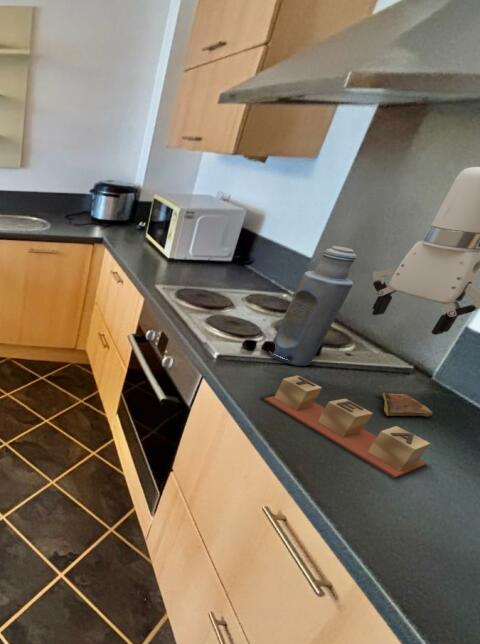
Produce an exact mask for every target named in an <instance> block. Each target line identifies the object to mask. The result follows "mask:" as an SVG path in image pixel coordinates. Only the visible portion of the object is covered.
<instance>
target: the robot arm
mask: <svg viewBox="0 0 480 644" xmlns="http://www.w3.org/2000/svg"><path fill="white" fill-rule="evenodd" d="M479 273H480V166H471V167H467V168H464V169H462V170H461V171H460V172H459V173H458V175H457V176H456V178H455V180H454V181H453V183H452V185H451V187H450V189H449V190H448V193H447V194H446V196H445V198H444V200H443V201H442V204H441V206H440V207H439V209H438V211H437V213H436V215H435V217H434V218H433V220H432V222H431V224H430V226H429V228H428V230H427V232H426V233H425V235H424V237H423V239H422V240H418V241H416V243H415V244H414V245H413V246H412V247H411V248H410V250H409V251H408V252H407V253H406V255H405V256H404V258H403V259H402V260H401V262H400V263H399V265H398V267H396V268H388V269H382V270H374V271H373V272H372V280H373V281H372V282H373V283H372V285H373V287H374V289H375V291H376V295H377V298H376V300H375V302H374V304H373V306H372V310H373V311H372V313H371V315H373V316H378V315H383V314H385V313H386V311H387V308H389V305H390V304H391V301H392V299H393V294H395V293H397V292H399V293H402V294H406V295H409V296H413V297H415V298H416V297H417V298H420V299H423V300H428V301H431V302H434V303H438V304H442V306H443V308H444V310H445V314H441V316H439V318H438V320H437V322H436V324H434V326H433V328H432V330H431V331H430V332H431V334H432V335H434V336H437V335H441V334H443V333H447V332H449V331H450V329H451V328H452V326H453V325H454V323H455V322H456V320H457V318H458V317H460V316H462V315H466V314H470V313H473V312H477V311H478V310H480V289H479V288H478V287H477V286H476V285H474V284H475V282H476V279H477V277H478V275H479ZM386 276H392V277H391V279H390V281H389V283H388V285H387V283H386V282H385V277H386ZM467 296H470V298H472V299H473V300H474V301H473V302H472V303H470V304H468V305H466V306H462V304H461V302H463V301H464V300H465V299H466V298H467Z"/></svg>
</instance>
